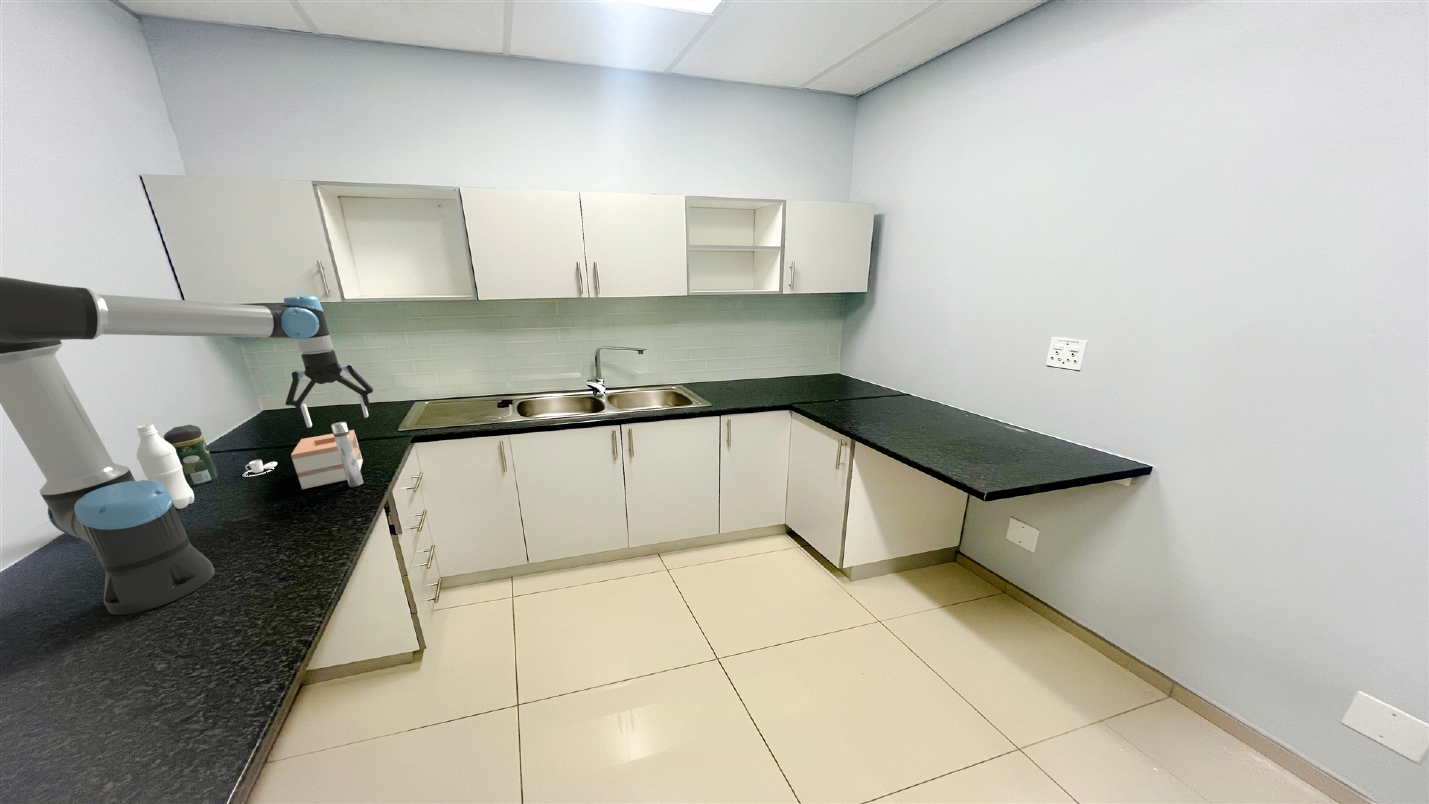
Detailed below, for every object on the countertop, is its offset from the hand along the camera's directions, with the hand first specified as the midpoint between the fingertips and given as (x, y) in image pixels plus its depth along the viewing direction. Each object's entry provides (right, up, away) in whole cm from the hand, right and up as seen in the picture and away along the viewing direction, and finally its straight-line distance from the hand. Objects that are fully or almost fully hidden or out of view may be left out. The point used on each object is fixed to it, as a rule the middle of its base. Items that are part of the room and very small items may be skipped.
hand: (339, 421), depth 139 cm
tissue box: (-13, -18, +14) cm, 26 cm away
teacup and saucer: (-39, -18, +19) cm, 47 cm away
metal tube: (+1, -20, +6) cm, 21 cm away
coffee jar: (-55, -20, +13) cm, 60 cm away
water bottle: (-43, -25, -4) cm, 50 cm away
